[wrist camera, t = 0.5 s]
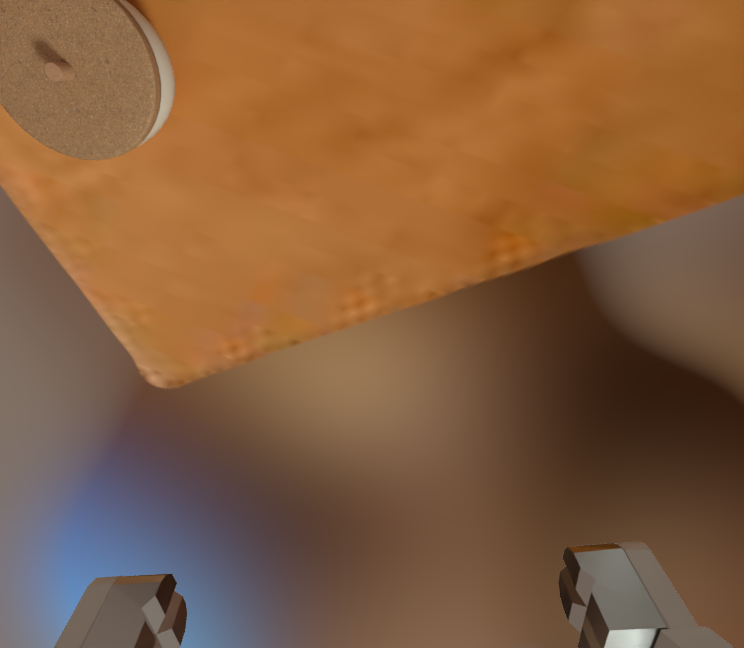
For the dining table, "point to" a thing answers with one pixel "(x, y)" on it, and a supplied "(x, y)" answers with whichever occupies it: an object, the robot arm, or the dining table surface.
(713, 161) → the dining table surface
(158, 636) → the robot arm
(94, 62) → the lidded bowl
